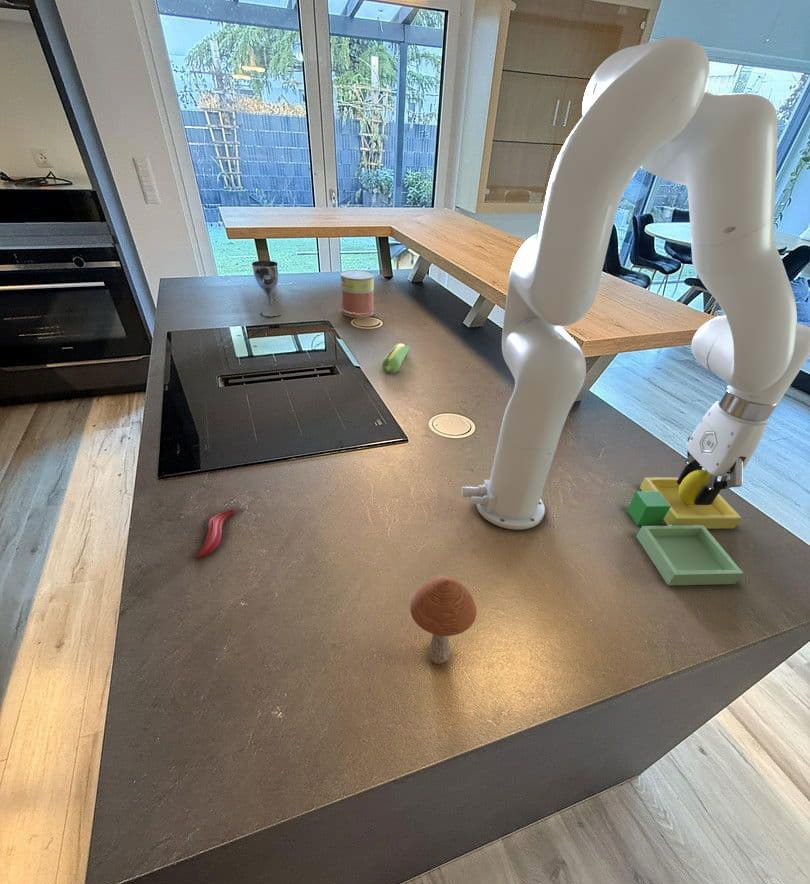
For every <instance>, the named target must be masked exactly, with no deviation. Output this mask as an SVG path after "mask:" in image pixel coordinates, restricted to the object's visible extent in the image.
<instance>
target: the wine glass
mask: <svg viewBox="0 0 810 884" xmlns="http://www.w3.org/2000/svg"><path fill="white" fill-rule="evenodd" d="M251 268H252V272H253V277H254V280H255V282H256V284H257V285H258V286H259V288H260V289H261V290H262V291H263V292H264V293H265V295H266V297H267V301H268V307H272V308H273V306H272V294H273V292H274V290H275V289H276V287H277V286H278V282H279V264H278V262H276V261H273V260H272V261H271V260H257V261H253V262H251Z"/></svg>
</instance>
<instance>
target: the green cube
mask: <svg viewBox="0 0 810 884" xmlns="http://www.w3.org/2000/svg"><path fill="white" fill-rule="evenodd" d="M670 507H671V506H670V505H669V504H668V502H667V501H666V500H665V499H664V497H663V496H662V495H661V494H660V492H659V491H642V490H639V491H635V492H634V494H633V497H632V499H631V501H630V503H629V505H628V507H627V508H626V512H627V513H628V514H629V516H630V517H631V519H632V520H633V522H634V523H635V525H636V526H637V527H639V526H661V524H662V523H663V521H664V520H663V519H664V517H665V516H666V514H667V512H668V510H669V509H670Z"/></svg>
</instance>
